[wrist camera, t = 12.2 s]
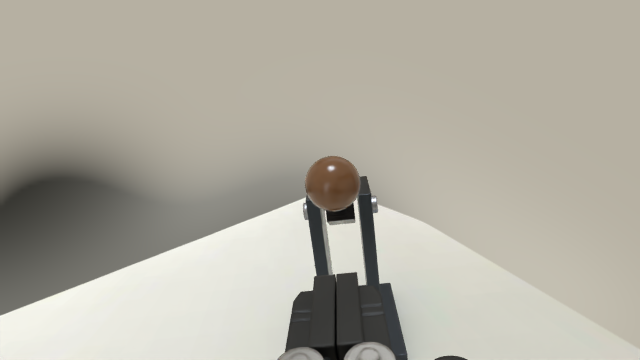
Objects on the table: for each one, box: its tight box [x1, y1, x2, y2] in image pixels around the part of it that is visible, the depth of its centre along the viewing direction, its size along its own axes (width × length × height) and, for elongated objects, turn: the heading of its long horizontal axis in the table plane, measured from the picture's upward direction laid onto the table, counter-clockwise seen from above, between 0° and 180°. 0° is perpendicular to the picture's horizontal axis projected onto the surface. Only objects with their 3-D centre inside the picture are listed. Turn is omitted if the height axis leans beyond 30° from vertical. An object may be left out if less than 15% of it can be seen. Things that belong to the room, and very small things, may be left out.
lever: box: [305, 156, 361, 225], centre depth 28 cm, size 13×3×3 cm
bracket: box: [303, 176, 408, 360], centre depth 34 cm, size 10×8×14 cm
